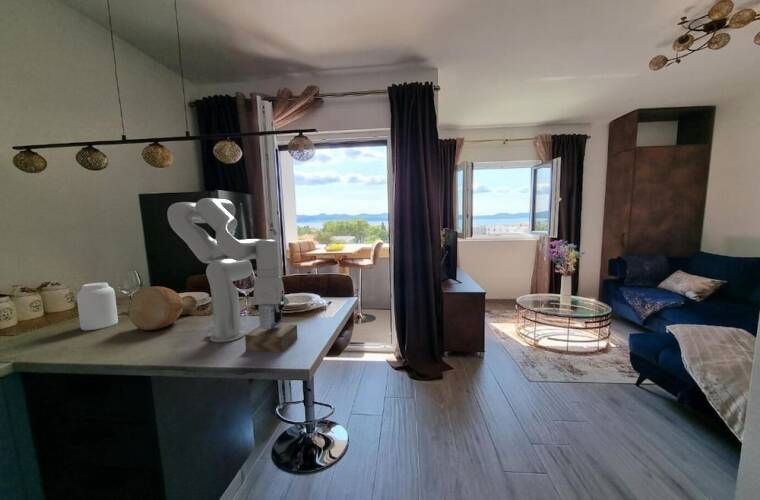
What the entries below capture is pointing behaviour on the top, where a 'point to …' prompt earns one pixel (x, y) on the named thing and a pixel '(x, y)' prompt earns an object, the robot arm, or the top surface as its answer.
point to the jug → (158, 307)
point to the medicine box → (267, 316)
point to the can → (97, 306)
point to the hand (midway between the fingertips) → (271, 320)
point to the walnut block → (271, 338)
